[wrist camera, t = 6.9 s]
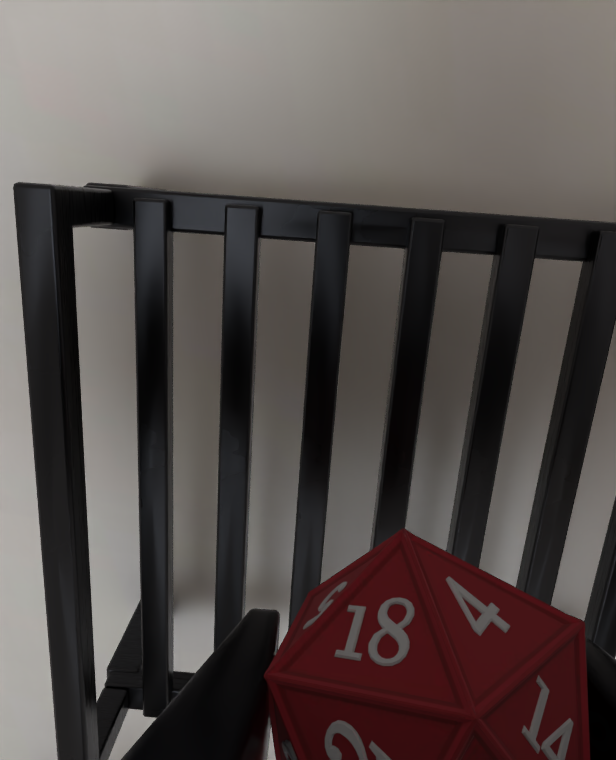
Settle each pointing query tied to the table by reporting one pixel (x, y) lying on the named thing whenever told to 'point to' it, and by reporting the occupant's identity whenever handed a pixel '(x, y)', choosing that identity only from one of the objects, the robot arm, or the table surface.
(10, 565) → the table surface
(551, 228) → the rack
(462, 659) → the dice
